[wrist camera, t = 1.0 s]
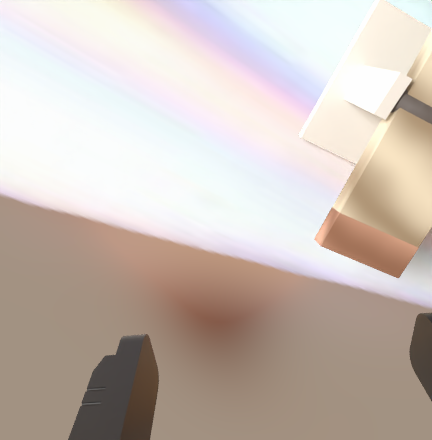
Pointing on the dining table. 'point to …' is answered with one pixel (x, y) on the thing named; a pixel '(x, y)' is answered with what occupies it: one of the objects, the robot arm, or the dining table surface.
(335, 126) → the pivot stand
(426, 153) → the board
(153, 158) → the dining table surface
